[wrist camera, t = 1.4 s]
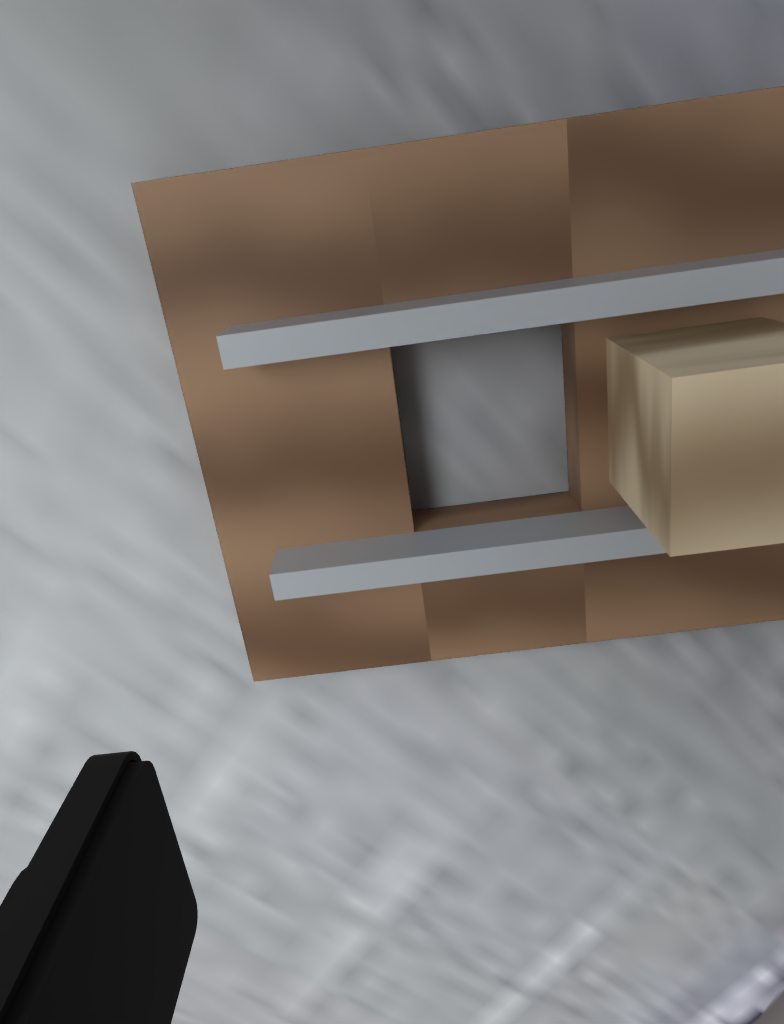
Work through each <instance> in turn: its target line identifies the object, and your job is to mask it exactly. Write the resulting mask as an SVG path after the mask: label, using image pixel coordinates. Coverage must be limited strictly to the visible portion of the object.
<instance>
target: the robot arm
mask: <svg viewBox="0 0 784 1024" xmlns="http://www.w3.org/2000/svg"><path fill="white" fill-rule="evenodd" d="M197 913H198V912H197V903H196V899H195V896H194V893H193V889H192V886H191V883H190V880H189V877H188V873H187V870H186V867H185V864H184V861H183V857H182V854H181V851H180V848H179V845H178V842H177V838H176V835H175V832H174V829H173V826H172V822H171V819H170V816H169V813H168V810H167V806H166V803H165V800H164V797H163V794H162V791H161V787H160V784H159V781H158V778H157V775H156V771H155V768H154V766H153V764H152V763H151V762H150V761H141V758H140V756H139V755H138V754H137V753H136V752H133V751H129V752H120V753H110V754H101V755H93V756H92V757H90V758H89V759H88V760H87V761H86V763H85V764H84V766H83V768H82V770H81V772H80V773H79V775H78V777H77V779H76V781H75V782H74V784H73V786H72V788H71V790H70V791H69V793H68V795H67V797H66V799H65V800H64V802H63V804H62V806H61V808H60V809H59V811H58V813H57V815H56V816H55V818H54V820H53V822H52V824H51V825H50V827H49V829H48V831H47V833H46V834H45V836H44V838H43V840H42V842H41V843H40V845H39V847H38V849H37V851H36V852H35V854H34V856H33V858H32V860H31V861H30V863H29V865H28V867H27V868H25V869H24V870H23V871H21V873H20V874H19V876H18V877H17V878H16V880H15V881H14V883H13V884H12V886H11V888H10V890H9V891H8V893H7V895H6V897H5V899H4V900H3V902H2V904H1V906H0V1024H171V1021H172V1017H173V1013H174V1010H175V1006H176V1002H177V999H178V995H179V991H180V988H181V984H182V980H183V977H184V973H185V969H186V966H187V962H188V958H189V955H190V951H191V947H192V944H193V940H194V936H195V932H196V928H197Z"/></svg>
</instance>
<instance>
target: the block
mask: <svg viewBox="0 0 784 1024" xmlns="http://www.w3.org/2000/svg"><path fill="white" fill-rule="evenodd" d="M606 355H607V399H608V443H609V482H610V483H611V484H612V485H613V487H614V488H615V489H616V490H617V492H618V493H619V494H620V495H621V497H622V498H623V499H624V500H625V502H626V503H627V504H628V505H629V507H630V508H631V509H632V510H633V511H634V513H635V514H636V515H637V516H638V518H639V519H640V520H641V521H642V523H643V524H644V525H645V526H646V528H647V529H648V530H649V531H650V533H651V534H652V535H653V536H654V538H655V539H656V540H657V541H658V542H659V544H660V545H661V546H662V547H663V549H664V550H665V551H666V552H667V554H668V555H669V556H670V557H673V556H681V555H690V554H698V553H706V552H714V551H722V550H731V549H739V548H747V547H755V546H764V545H772V544H780V543H784V323H782V322H778V321H775V320H772V319H768V318H765V317H757V318H750V319H742V320H735V321H728V322H720V323H713V324H705V325H698V326H691V327H683V328H676V329H668V330H661V331H654V332H646V333H639V334H632V335H624V336H617V337H609V338H606Z"/></svg>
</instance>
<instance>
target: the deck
mask: <svg viewBox="0 0 784 1024" xmlns="http://www.w3.org/2000/svg"><path fill="white" fill-rule="evenodd" d="M131 185H132V189H133V193H134V197H135V201H136V205H137V209H138V213H139V217H140V221H141V225H142V229H143V233H144V237H145V241H146V245H147V250H148V254H149V258H150V262H151V266H152V270H153V274H154V278H155V282H156V286H157V290H158V294H159V298H160V302H161V306H162V310H163V315H164V319H165V323H166V327H167V331H168V335H169V339H170V343H171V347H172V351H173V355H174V359H175V363H176V367H177V371H178V375H179V379H180V384H181V388H182V392H183V396H184V400H185V404H186V408H187V412H188V416H189V420H190V424H191V428H192V432H193V436H194V440H195V444H196V448H197V453H198V457H199V461H200V465H201V469H202V473H203V477H204V481H205V485H206V489H207V493H208V497H209V501H210V505H211V509H212V513H213V517H214V522H215V526H216V530H217V534H218V538H219V542H220V546H221V550H222V554H223V558H224V562H225V566H226V570H227V574H228V578H229V582H230V587H231V591H232V595H233V599H234V603H235V607H236V611H237V615H238V619H239V623H240V627H241V631H242V635H243V639H244V643H245V647H246V651H247V656H248V660H249V664H250V668H251V672H252V676H253V680H254V681H263V680H271V679H280V678H289V677H297V676H306V675H314V674H323V673H331V672H340V671H348V670H357V669H365V668H374V667H382V666H391V665H399V664H408V663H417V662H425V661H434V660H442V659H451V658H459V657H468V656H476V655H485V654H493V653H502V652H510V651H519V650H527V649H536V648H544V647H553V646H562V645H570V644H579V643H587V642H596V641H604V640H613V639H621V638H630V637H638V636H647V635H655V634H664V633H672V632H681V631H690V630H698V629H707V628H715V627H724V626H732V625H741V624H749V623H758V622H766V621H775V620H783V619H784V543H780V544H772V545H764V546H755V547H747V548H739V549H731V550H722V551H714V552H706V553H698V554H690V555H681V556H673V557H670V556H669V555H668V554H667V553H662V554H654V555H645V556H637V557H629V558H621V559H613V560H604V561H596V562H588V563H580V564H572V565H564V566H555V567H547V568H539V569H531V570H523V571H514V572H506V573H498V574H490V575H482V576H473V577H465V578H457V579H449V580H441V581H432V582H424V583H416V584H408V585H400V586H391V587H383V588H375V589H367V590H359V591H350V592H342V593H334V594H326V595H318V596H309V597H301V598H293V599H285V600H277V601H275V599H274V595H273V590H272V586H271V581H270V577H269V574H270V571H271V567H272V564H273V561H274V558H275V555H276V552H277V549H285V548H293V547H301V546H309V545H317V544H325V543H333V542H341V541H349V540H357V539H365V538H373V537H381V536H389V535H397V534H405V533H413V532H421V531H429V530H437V529H445V528H453V527H461V526H469V525H477V524H485V523H492V522H500V521H508V520H516V519H524V518H532V517H540V516H548V515H556V514H564V513H572V512H580V511H588V510H596V509H604V508H612V507H620V506H628V504H627V503H626V502H625V500H624V499H623V498H622V497H621V495H620V494H619V493H618V492H617V490H616V489H615V488H614V487H613V485H612V484H611V483H610V482H609V443H608V399H607V355H606V338H609V337H617V336H624V335H632V334H639V333H646V332H654V331H661V330H668V329H676V328H683V327H691V326H698V325H705V324H713V323H720V322H728V321H735V320H742V319H750V318H757V317H765V318H768V319H772V320H775V321H778V322H782V323H784V293H782V294H774V295H767V296H760V297H752V298H745V299H738V300H730V301H723V302H716V303H708V304H701V305H694V306H687V307H679V308H672V309H665V310H657V311H650V312H643V313H635V314H628V315H621V316H613V317H606V318H599V319H591V320H584V321H577V322H569V323H562V324H561V328H562V350H563V372H564V394H565V416H566V438H567V460H568V482H569V491H567V492H559V493H551V494H543V495H535V496H527V497H519V498H512V499H504V500H496V501H488V502H480V503H472V504H464V505H456V506H448V507H440V508H432V509H425V510H417V511H412V504H411V497H410V489H409V482H408V474H407V467H406V459H405V452H404V444H403V437H402V429H401V422H400V414H399V407H398V399H397V392H396V384H395V377H394V369H393V362H392V355H391V347H386V348H379V349H372V350H364V351H357V352H350V353H343V354H335V355H328V356H321V357H313V358H306V359H299V360H291V361H284V362H277V363H269V364H262V365H255V366H247V367H240V368H233V369H225V370H223V365H222V361H221V356H220V352H219V347H218V343H217V338H216V336H217V335H219V334H220V333H221V332H222V331H224V330H225V329H226V328H228V327H229V326H234V325H241V324H249V323H256V322H263V321H270V320H277V319H284V318H292V317H299V316H306V315H313V314H320V313H328V312H335V311H342V310H349V309H356V308H363V307H371V306H378V305H385V304H392V303H399V302H407V301H414V300H421V299H428V298H435V297H442V296H450V295H457V294H464V293H471V292H478V291H485V290H493V289H500V288H507V287H514V286H521V285H529V284H536V283H543V282H550V281H557V280H564V279H572V278H579V277H586V276H593V275H600V274H608V273H615V272H622V271H629V270H636V269H643V268H651V267H658V266H665V265H672V264H679V263H687V262H694V261H701V260H708V259H715V258H722V257H730V256H737V255H744V254H751V253H758V252H766V251H773V250H780V249H784V86H781V87H774V88H767V89H760V90H754V91H747V92H740V93H734V94H727V95H720V96H713V97H707V98H700V99H693V100H687V101H680V102H673V103H666V104H660V105H653V106H646V107H640V108H633V109H626V110H619V111H613V112H606V113H599V114H593V115H586V116H579V117H572V118H566V119H559V120H552V121H546V122H539V123H532V124H525V125H519V126H512V127H505V128H499V129H492V130H485V131H479V132H472V133H465V134H458V135H452V136H445V137H438V138H432V139H425V140H418V141H411V142H405V143H398V144H391V145H385V146H378V147H371V148H364V149H358V150H351V151H344V152H338V153H331V154H324V155H317V156H311V157H304V158H297V159H291V160H284V161H277V162H270V163H264V164H257V165H250V166H244V167H237V168H230V169H223V170H217V171H210V172H203V173H197V174H190V175H183V176H176V177H170V178H163V179H156V180H150V181H143V182H136V183H131Z"/></svg>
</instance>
